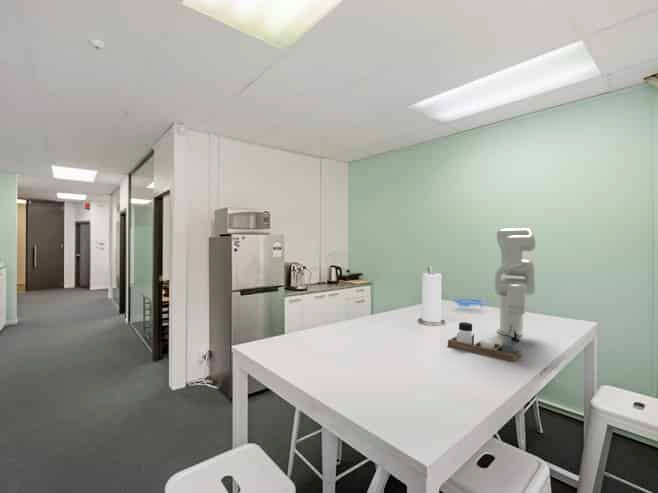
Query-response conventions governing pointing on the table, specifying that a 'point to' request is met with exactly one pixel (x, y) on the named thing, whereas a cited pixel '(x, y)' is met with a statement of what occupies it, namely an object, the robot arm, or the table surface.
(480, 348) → the wooden compartment tray
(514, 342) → the grey rectangular block
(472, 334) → the medicine bottle
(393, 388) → the table surface
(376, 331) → the table surface
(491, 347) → the white rounded lump
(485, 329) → the table surface
